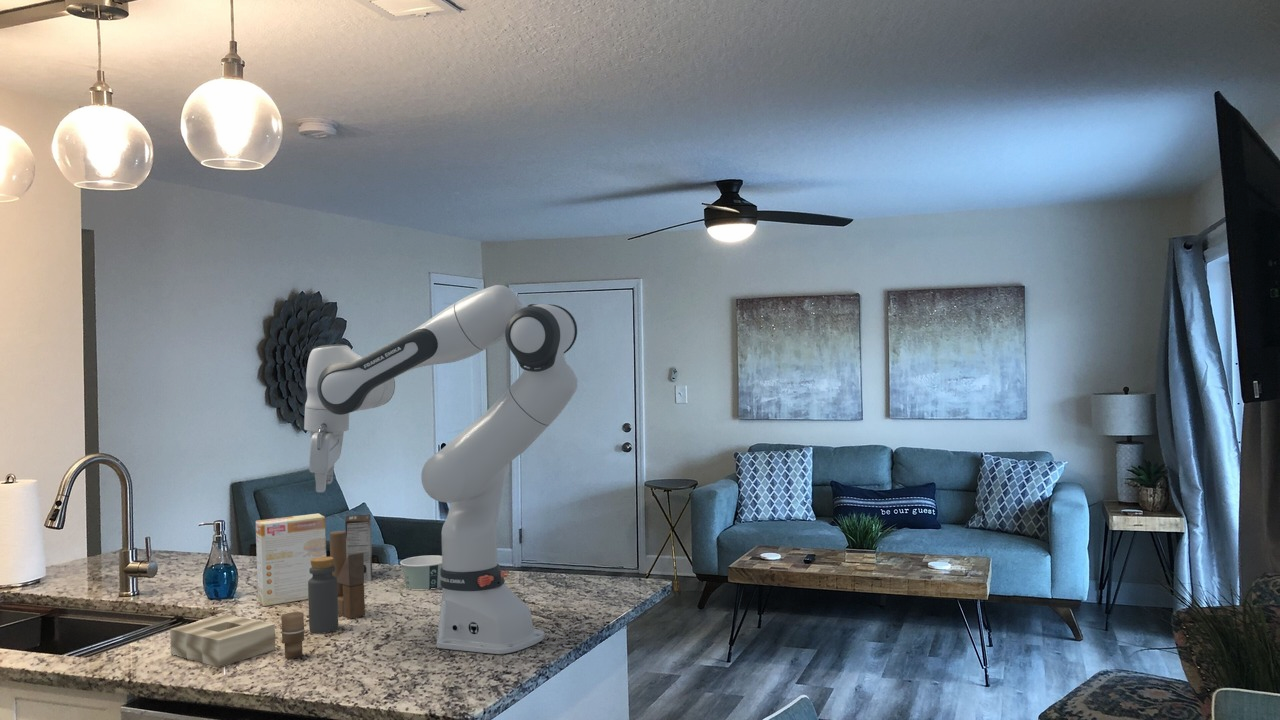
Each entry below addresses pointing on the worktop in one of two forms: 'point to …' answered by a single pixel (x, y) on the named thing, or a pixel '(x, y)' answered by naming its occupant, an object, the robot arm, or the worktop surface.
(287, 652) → the peg
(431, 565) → the food container
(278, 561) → the coffeecake box
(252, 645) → the board
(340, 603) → the wooden block
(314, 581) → the bottle
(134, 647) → the worktop surface
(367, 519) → the coffee box
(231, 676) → the worktop surface
